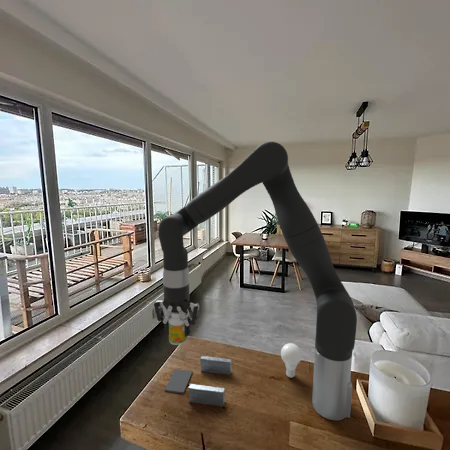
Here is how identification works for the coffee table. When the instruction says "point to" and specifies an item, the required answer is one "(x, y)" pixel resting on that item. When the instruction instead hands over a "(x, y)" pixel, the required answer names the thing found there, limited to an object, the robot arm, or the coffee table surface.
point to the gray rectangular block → (178, 381)
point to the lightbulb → (291, 358)
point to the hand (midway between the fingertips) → (177, 334)
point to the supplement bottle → (176, 329)
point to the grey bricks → (206, 392)
